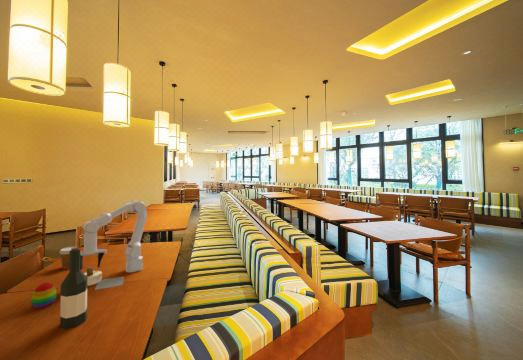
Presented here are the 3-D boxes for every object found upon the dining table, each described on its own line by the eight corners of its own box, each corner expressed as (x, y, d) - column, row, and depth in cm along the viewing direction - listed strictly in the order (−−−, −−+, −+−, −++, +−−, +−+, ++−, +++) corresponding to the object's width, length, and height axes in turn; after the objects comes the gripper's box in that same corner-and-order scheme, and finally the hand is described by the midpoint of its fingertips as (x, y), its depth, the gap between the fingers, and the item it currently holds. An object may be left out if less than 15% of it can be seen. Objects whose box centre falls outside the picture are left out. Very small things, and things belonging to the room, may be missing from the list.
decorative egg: (44, 299, 105) (44, 278, 105) (61, 300, 105) (61, 279, 105) (25, 309, 97) (26, 287, 97) (43, 310, 97) (44, 287, 97)
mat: (124, 277, 129) (124, 276, 129) (122, 286, 119) (122, 285, 119) (98, 282, 124) (98, 280, 124) (94, 291, 113) (94, 290, 113)
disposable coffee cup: (67, 271, 137) (67, 251, 136) (54, 269, 138) (55, 250, 138) (82, 265, 146) (82, 247, 146) (70, 263, 148) (71, 245, 148)
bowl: (102, 277, 129) (102, 271, 128) (99, 285, 120) (99, 278, 120) (80, 281, 124) (80, 274, 124) (75, 289, 115) (75, 282, 115)
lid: (106, 271, 128) (106, 264, 128) (95, 280, 117) (95, 272, 117) (84, 272, 126) (85, 264, 126) (71, 281, 115) (71, 273, 115)
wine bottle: (70, 316, 93) (72, 245, 93) (91, 315, 94) (93, 245, 94) (54, 329, 85) (55, 251, 85) (77, 328, 86) (78, 251, 86)
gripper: (107, 239, 128) (107, 263, 129) (75, 242, 122) (75, 267, 122) (105, 243, 122) (105, 267, 122) (72, 246, 115) (71, 272, 115)
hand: (90, 267), depth 122 cm, fingers open, 7 cm apart
